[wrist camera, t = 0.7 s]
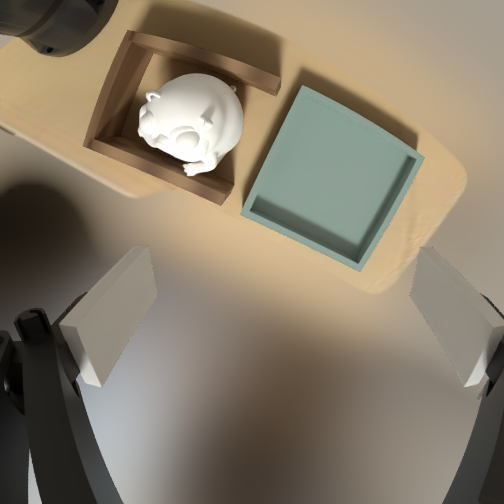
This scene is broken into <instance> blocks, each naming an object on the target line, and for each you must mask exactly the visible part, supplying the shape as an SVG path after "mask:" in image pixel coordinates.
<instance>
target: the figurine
mask: <svg viewBox="0 0 504 504" xmlns="http://www.w3.org/2000/svg"><path fill="white" fill-rule="evenodd" d="M235 91H236V87H235V86H228V85H227V84H226V83H224V82H223V81H221V80H220V79H218V78H216V77H213V76H210V75H207V74H200V73H193V74H186V75H182V76H180V77H177V78H175V79H173V80H172V81H169V82H167V83H165V84H164V85H162V86H161V87H160V88H159V89H158V90H157V91H148V92H147V93H146V97H147V99H148V102H147V103H146V104H144V105H143V106H142V107H141V109H140V114H139V128H138V133H139V135H140V137H141V136H142V137H144V139H145V140H146V142H147V143H148V144H149V145H150V146H151V147H155V148H159V149H161V150H163V151H164V152H167V153H169V154H171V155H173V156H174V157H176V158H178V159H181V160H184V161H188V162H192V163H189V164H184V165H182V166H183V167H184V168H185V169H184V172H186V173H187V176H194V175H195V174H197V173H200V172H209V171H211V170H213V169H214V168H215V167H216V166H217V164H218V163H219V162H220V161H221V160H222V158H223V157H224V156H225V154H226V153H227V152H228V151H230V150H231V149H232V148H233V147H234V146H235V145H236V144H237V143H238V141H239V140H240V138H241V135H242V132H243V128H244V115H243V110H242V107H241V104H240V101H239V99H238V97H237V96H236V94H235V93H234V92H235ZM151 95H152V96H151ZM150 96H151V97H150Z"/></svg>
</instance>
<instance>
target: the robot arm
mask: <svg viewBox="0 0 504 504" xmlns="http://www.w3.org/2000/svg"><path fill="white" fill-rule="evenodd" d="M117 2H118V0H0V34H2V35H8V36H15V37H19V38H21V39H22V40H23V41H24V42H26V43H27V44H28V45H29V46H31V47H32V48H33V49H34V50H35V51H37V52H38V53H40V54H43V55H47V56H52V57H63V56H67V55H70V54H73V53H75V52H76V51H78V50H80V49H81V48H83V47H84V46H86V45H87V44H88V43H89V42H91V41H92V40H93V39H94V38H95V37H96V36H97V35H98V34H99V33H100V31H101V30H102V29H103V28H104V26H105V25H106V24H107V22H108V21H109V19H110V17H111V16H112V14H113V12H114V10H115V7H116V5H117ZM156 296H157V290H156V285H155V280H154V274H153V268H152V262H151V257H150V251H149V246H134V247H133V248H132V249H131V250H130V251H129V252H128V253H127V254H126V255H125V256H123V257H122V258H121V259H120V260H119V261H118V262H117V263H116V264H115V265H114V266H113V267H112V268H111V269H110V270H109V271H108V272H107V273H106V274H105V275H104V276H103V278H101V279H100V280H99V282H97V283H96V285H95V286H94V287H93V288H92V289H91V290H90V291H89V292H86V293H84V294H83V295H81V296H79V297H78V298H77V299H76V300H75V301H74V302H73V303H72V304H71V306H69V307H68V308H67V309H66V312H63V313H62V314H61V316H60V317H59V318H58V319H57V320H56V321H55V322H54V323H53V324H52V325H50V323H49V320H48V318H47V315H46V313H45V311H44V310H43V309H42V308H32V309H28V310H26V311H24V312H22V313H21V314H19V315H18V316H17V318H16V319H15V321H14V325H15V327H16V329H17V331H18V333H19V336H20V338H21V340H22V341H13V340H12V339H11V336H10V334H9V332H8V331H5V330H1V331H0V504H28V467H29V450H30V453H31V458H32V463H33V468H34V473H35V477H36V482H37V486H38V490H39V494H40V498H41V501H42V504H123V502H122V500H121V498H120V496H119V494H118V491H117V489H116V487H115V485H114V483H113V481H112V478H111V476H110V474H109V472H108V469H107V467H106V464H105V462H104V460H103V457H102V455H101V452H100V449H99V447H98V444H97V442H96V439H95V436H94V433H93V430H92V427H91V424H90V421H89V418H88V415H87V412H86V409H85V405H84V402H83V399H82V395H81V391H80V388H79V385H78V383H77V381H76V378H77V376H78V374H79V373H81V375H82V377H83V379H84V381H85V383H86V384H90V385H95V386H99V387H102V386H103V384H104V383H105V381H106V379H107V378H108V376H109V374H110V372H111V371H112V369H113V367H114V366H115V364H116V362H117V360H118V359H119V357H120V355H121V354H122V352H123V350H124V349H125V347H126V345H127V343H128V342H129V340H130V338H131V337H132V335H133V334H134V332H135V330H136V329H137V327H138V325H139V323H140V322H141V320H142V319H143V317H144V315H145V314H146V312H147V311H148V309H149V308H150V306H151V304H152V302H153V301H154V300H155V298H156ZM410 297H411V299H412V300H413V302H414V303H415V305H416V306H417V308H418V309H419V311H420V312H421V314H422V316H423V317H424V319H425V320H426V322H427V324H428V325H429V327H430V328H431V330H432V331H433V333H434V335H435V337H436V338H437V340H438V342H439V343H440V345H441V347H442V348H443V350H444V352H445V354H446V355H447V357H448V359H449V360H450V362H451V364H452V366H453V368H454V370H455V371H456V373H457V375H458V377H459V378H460V380H461V382H462V384H463V386H464V387H467V386H471V385H475V384H479V382H480V380H481V379H482V377H483V375H484V373H485V372H486V373H487V375H488V377H489V380H488V381H487V383H486V384H485V386H484V388H483V389H482V391H481V393H480V394H479V396H478V398H477V399H480V397H481V396H483V397H482V400H481V404H480V407H479V411H478V415H477V418H476V421H475V425H474V428H473V431H472V434H471V437H470V440H469V442H468V445H467V448H466V451H465V453H464V456H463V459H462V461H461V464H460V466H459V468H458V471H457V473H456V476H455V478H454V480H453V482H452V484H451V487H450V489H449V491H448V493H447V495H446V497H445V499H444V501H443V503H442V504H504V315H503V314H502V313H501V312H499V310H498V309H497V308H496V306H495V307H494V304H493V303H492V302H491V301H490V300H489V299H488V298H487V297H485V296H484V295H482V294H481V293H479V292H478V291H477V290H476V289H475V288H474V287H473V286H472V285H471V284H470V283H469V282H468V281H467V279H466V278H464V276H462V274H461V273H460V272H458V270H456V269H455V268H454V267H453V266H452V265H451V264H450V263H449V262H448V261H447V260H446V259H445V258H444V257H443V256H442V255H441V254H440V253H439V252H438V251H437V250H436V249H434V248H433V247H420V250H419V255H418V261H417V266H416V271H415V275H414V280H413V284H412V288H411V292H410ZM4 383H5V384H6V386H7V389H6V391H5V387H4Z"/></svg>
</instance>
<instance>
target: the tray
mask: <svg viewBox="0 0 504 504" xmlns="http://www.w3.org/2000/svg"><path fill="white" fill-rule="evenodd" d="M424 158H425V157H424V156H422V155H421V154H420V153H418V152H417V151H415V150H414V149H412V148H411V147H410V146H408V145H407V144H405V143H404V142H402V141H401V140H399V139H398V138H396V137H395V136H393V135H392V134H390V133H389V132H387V131H385V130H384V129H382V128H381V127H379V126H377V125H376V124H374V123H372V122H371V121H369V120H368V119H366V118H364V117H362V116H361V115H359V114H357V113H356V112H354V111H352V110H350V109H348V108H347V107H345V106H343V105H341V104H339V103H337V102H336V101H334V100H332V99H330V98H328V97H326V96H324V95H322V94H320V93H318V92H316V91H314V90H312V89H310V88H308V87H306V86H304V85H302V87H301V89H300V91H299V93H298V95H297V97H296V99H295V101H294V103H293V105H292V107H291V109H290V111H289V113H288V115H287V117H286V119H285V121H284V123H283V125H282V127H281V129H280V131H279V133H278V135H277V137H276V139H275V141H274V143H273V145H272V147H271V149H270V152H269V154H268V156H267V158H266V160H265V162H264V164H263V166H262V168H261V170H260V172H259V174H258V177H257V179H256V181H255V183H254V185H253V187H252V189H251V191H250V193H249V196H248V198H247V200H246V202H245V204H244V206H243V208H242V211H241V213H240V215H242V216H244V217H246V218H248V219H250V220H253V221H255V222H257V223H259V224H261V225H263V226H266V227H268V228H270V229H272V230H274V231H276V232H278V233H280V234H283V235H285V236H287V237H289V238H291V239H293V240H295V241H297V242H299V243H301V244H304V245H306V246H308V247H310V248H312V249H314V250H316V251H318V252H320V253H322V254H324V255H326V256H328V257H330V258H333V259H335V260H337V261H339V262H341V263H343V264H345V265H347V266H349V267H351V268H353V269H355V270H357V271H359V272H361V270H362V268H363V267H364V265H365V264H366V262H367V261H368V259H369V257H370V256H371V254H372V252H373V251H374V249H375V248H376V246H377V244H378V243H379V241H380V239H381V238H382V236H383V234H384V232H385V231H386V229H387V227H388V226H389V224H390V222H391V220H392V219H393V217H394V215H395V213H396V212H397V210H398V208H399V206H400V204H401V203H402V201H403V199H404V197H405V195H406V193H407V191H408V190H409V188H410V186H411V184H412V182H413V180H414V178H415V176H416V174H417V172H418V170H419V168H420V166H421V164H422V162H423V160H424Z"/></svg>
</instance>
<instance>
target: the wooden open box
mask: <svg viewBox="0 0 504 504" xmlns="http://www.w3.org/2000/svg"><path fill="white" fill-rule="evenodd" d="M153 53H155V54H158V55H162V56H166V57H169V58H173V59H176V60H179V61H183V62H186V63H189V64H192V65H195V66H198V67H201V68H204V69H207V70H210V71H213V72H216V73H219V74H221V75H224V76H227V77H230V78H232V79H235V80H237V81H240V82H243V83H245V84H248V85H250V86H252V87H255V88H257V89H260V90H262V91H264V92H267V93H269V94H271V95H274V96H277V94H278V92H279V90H280V88H281V78H280V77H277V76H275V75H273V74H270V73H268V72H266V71H263V70H261V69H258V68H256V67H253V66H251V65H248V64H245V63H243V62H240V61H237V60H235V59H232V58H229V57H226V56H223V55H220V54H217V53H214V52H211V51H208V50H205V49H202V48H198V47H195V46H192V45H188V44H185V43H181V42H177V41H174V40H170V39H166V38H162V37H158V36H153V35H149V34H145V33H140V32H135V31H130V30H127V32H126V34H125V36H124V38H123V41H122V43H121V45H120V47H119V49H118V51H117V53H116V56H115V58H114V60H113V62H112V65H111V67H110V70H109V72H108V74H107V77H106V79H105V82H104V84H103V87H102V90H101V92H100V95H99V98H98V100H97V103H96V106H95V109H94V112H93V115H92V118H91V121H90V124H89V127H88V130H87V134H86V137H85V140H84V144H83V146H84V147H86V148H89V149H91V150H93V151H96V152H98V153H101V154H103V155H106V156H108V157H110V158H113V159H115V160H117V161H120V162H122V163H125V164H127V165H129V166H132V167H134V168H136V169H139V170H141V171H143V172H146V173H148V174H150V175H153V176H155V177H157V178H160V179H162V180H164V181H167V182H169V183H171V184H173V185H176V186H178V187H180V188H182V189H185V190H187V191H189V192H192V193H194V194H196V195H198V196H200V197H203V198H205V199H207V200H209V201H212V202H214V203H216V204H218V205H220V206H221V205H222V204H223V202H224V201H225V200H226V198H227V197H228V196H229V195H230V193H231V191H232V189H233V186H234V184H233V183H230V182H228V181H226V180H224V179H221V178H219V177H217V176H215V175H212V174H210V173H208V172H200V173H197V174H195V175H194V176H187V173H186V172H184V169H185V168H184V167H183V166H182V165H184V164H187V163H185V162H182V161H180V160H178V159H175V158H173V157H170V156H168V155H165V154H163V153H161V152H158V151H156V150H153V149H151V148H148V147H146V146H143V145H141V144H138V143H136V142H133V141H131V140H128V139H126V138H123V137H120V134H121V131H122V128H123V125H124V123H125V120H126V117H127V114H128V112H129V109H130V106H131V104H132V101H133V99H134V96H135V94H136V91H137V89H138V87H139V84H140V82H141V80H142V77H143V75H144V73H145V70H146V68H147V66H148V64H149V62H150V59H151V57H152V55H153Z"/></svg>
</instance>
